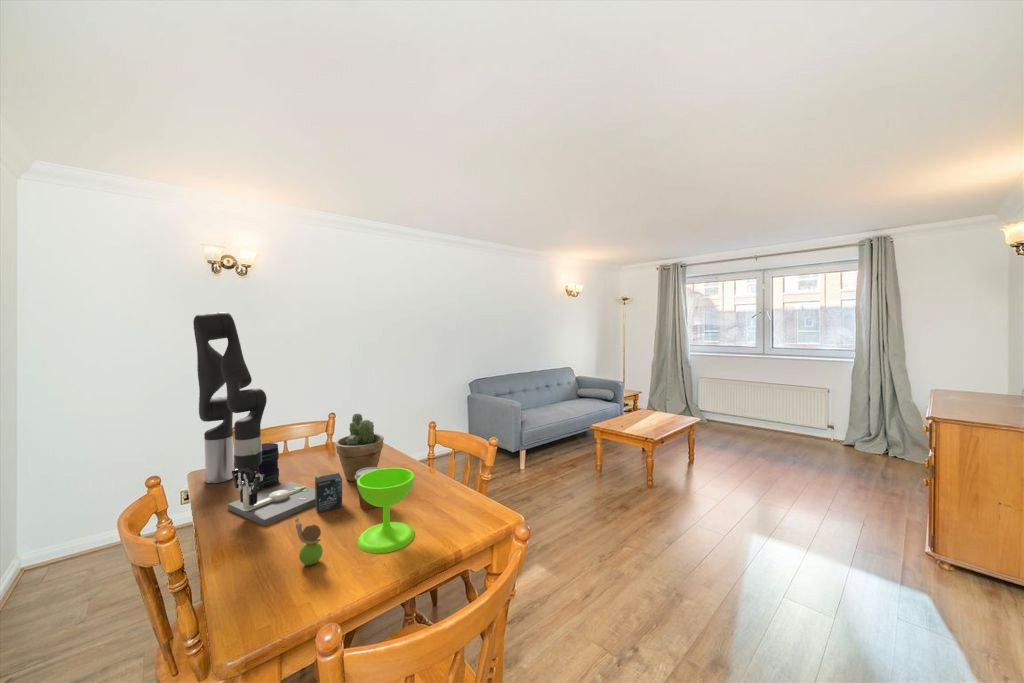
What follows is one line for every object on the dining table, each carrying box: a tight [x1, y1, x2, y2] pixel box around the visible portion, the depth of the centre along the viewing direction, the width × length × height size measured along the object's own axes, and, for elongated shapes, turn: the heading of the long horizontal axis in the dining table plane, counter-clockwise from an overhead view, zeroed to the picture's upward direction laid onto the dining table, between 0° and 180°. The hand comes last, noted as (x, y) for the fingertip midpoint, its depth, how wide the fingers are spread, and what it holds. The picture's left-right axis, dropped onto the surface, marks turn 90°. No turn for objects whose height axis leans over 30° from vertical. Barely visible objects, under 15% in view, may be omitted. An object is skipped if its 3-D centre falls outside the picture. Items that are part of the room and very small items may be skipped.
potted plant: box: [335, 413, 385, 483], centre depth 161 cm, size 18×19×25 cm
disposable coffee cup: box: [355, 466, 383, 510], centre depth 136 cm, size 10×10×12 cm
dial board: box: [227, 481, 315, 527], centre depth 137 cm, size 22×22×2 cm
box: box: [314, 472, 343, 514], centre depth 134 cm, size 8×6×11 cm
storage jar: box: [251, 442, 280, 490], centre depth 153 cm, size 10×10×15 cm
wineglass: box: [356, 467, 415, 554], centre depth 115 cm, size 16×16×18 cm
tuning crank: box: [243, 483, 308, 511], centre depth 136 cm, size 22×6×8 cm, turn 152°
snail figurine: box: [294, 517, 324, 566], centre depth 102 cm, size 5×6×12 cm
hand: (248, 502), depth 127 cm, fingers open, 4 cm apart
